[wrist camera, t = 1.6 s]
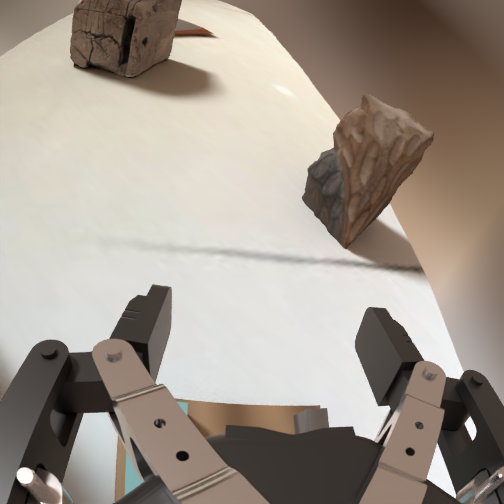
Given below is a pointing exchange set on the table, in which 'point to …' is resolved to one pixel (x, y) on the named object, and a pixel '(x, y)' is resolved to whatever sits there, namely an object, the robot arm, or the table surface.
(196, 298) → the table surface
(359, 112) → the brown grey rock
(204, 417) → the vise bed
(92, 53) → the carved wooden block
